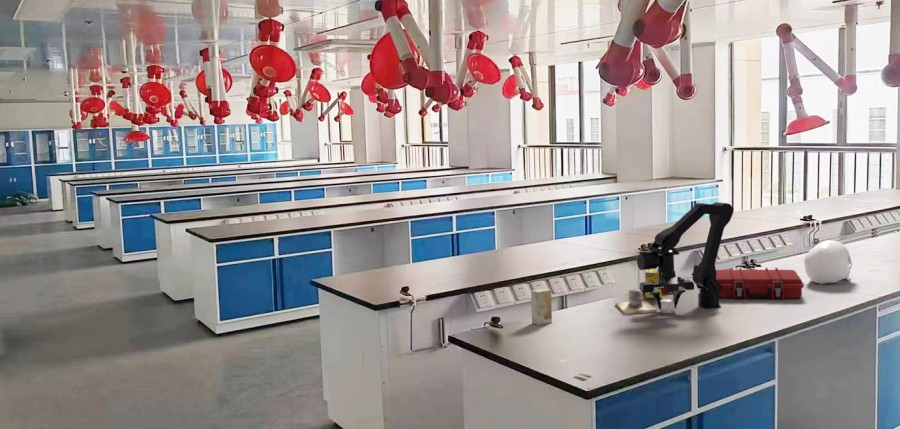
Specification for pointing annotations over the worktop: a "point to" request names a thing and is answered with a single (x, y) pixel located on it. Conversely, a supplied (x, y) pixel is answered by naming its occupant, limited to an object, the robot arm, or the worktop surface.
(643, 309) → the beige square board
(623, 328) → the worktop surface
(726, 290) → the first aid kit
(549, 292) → the skincare box
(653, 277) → the supplement box
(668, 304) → the cap
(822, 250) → the lumpy white sphere
